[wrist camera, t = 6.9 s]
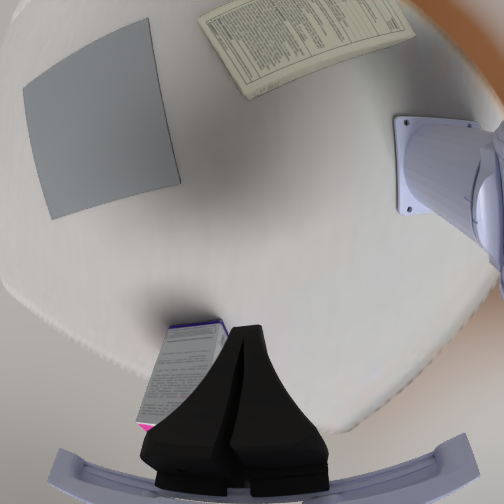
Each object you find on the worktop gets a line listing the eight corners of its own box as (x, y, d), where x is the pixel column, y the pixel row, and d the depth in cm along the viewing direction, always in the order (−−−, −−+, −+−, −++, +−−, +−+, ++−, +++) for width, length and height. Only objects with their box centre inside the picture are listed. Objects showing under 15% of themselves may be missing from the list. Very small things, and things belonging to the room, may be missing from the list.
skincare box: (246, 103, 17) (390, 50, 14) (243, 97, 13) (419, 39, 10) (205, 34, 15) (350, -14, 12) (191, 14, 11) (370, -37, 8)
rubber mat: (148, 18, 14) (147, 17, 13) (181, 183, 20) (180, 183, 20) (23, 88, 15) (22, 88, 15) (53, 219, 21) (52, 220, 21)
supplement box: (167, 325, 26) (132, 421, 16) (222, 317, 26) (204, 425, 15) (188, 362, 29) (167, 451, 19) (238, 357, 28) (230, 454, 18)
